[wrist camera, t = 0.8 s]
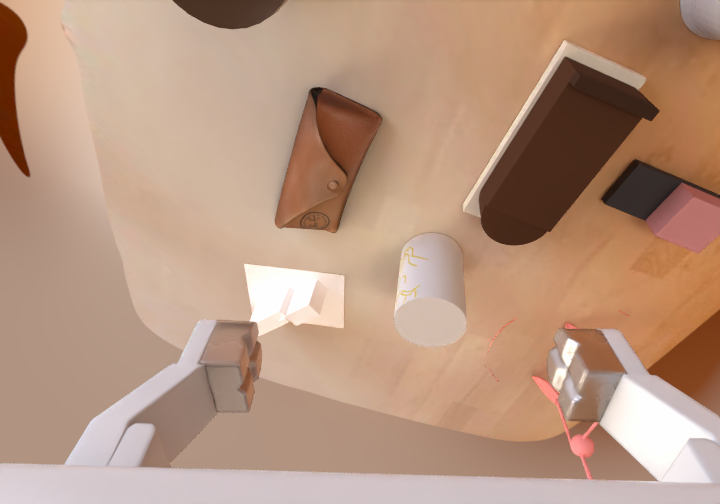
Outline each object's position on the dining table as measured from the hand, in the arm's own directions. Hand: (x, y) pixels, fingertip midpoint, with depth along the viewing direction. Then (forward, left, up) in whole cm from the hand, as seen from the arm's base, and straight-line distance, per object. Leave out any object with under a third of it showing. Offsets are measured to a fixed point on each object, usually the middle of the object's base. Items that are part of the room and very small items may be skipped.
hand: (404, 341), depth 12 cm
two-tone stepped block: (+6, +31, -39) cm, 51 cm away
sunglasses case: (+18, -5, -40) cm, 44 cm away
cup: (+25, +12, -40) cm, 49 cm away
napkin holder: (+41, -3, -40) cm, 57 cm away
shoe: (+6, +16, -39) cm, 43 cm away
